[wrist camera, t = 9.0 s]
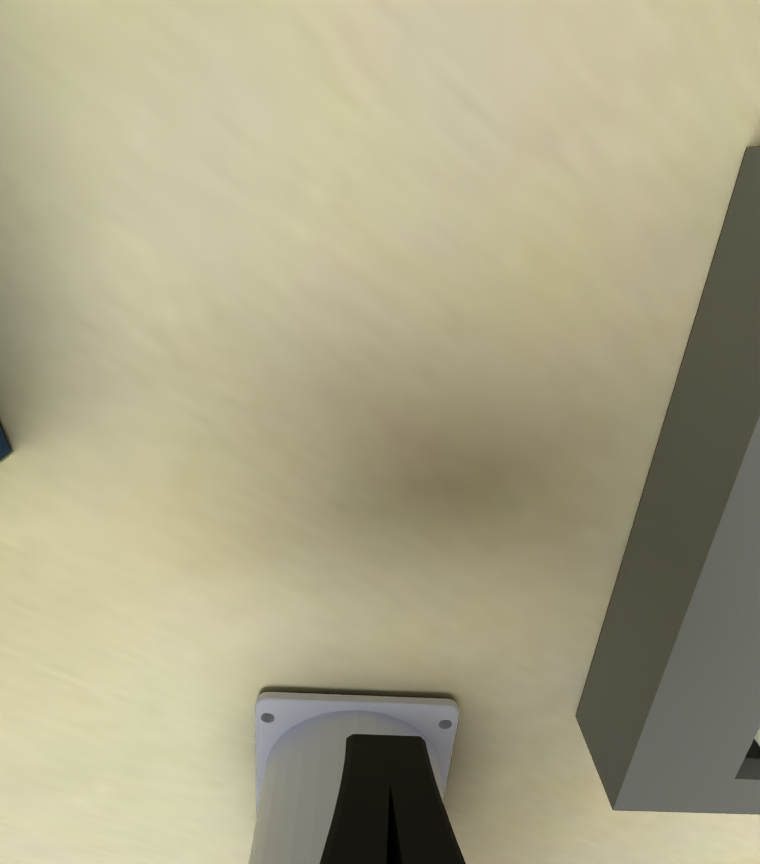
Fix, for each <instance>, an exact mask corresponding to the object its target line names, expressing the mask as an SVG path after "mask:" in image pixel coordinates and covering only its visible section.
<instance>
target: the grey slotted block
mask: <svg viewBox="0 0 760 864" xmlns="http://www.w3.org/2000/svg"><path fill="white" fill-rule="evenodd" d="M576 718H577V721H578V723H579V726H580V729H581V731H582V734H583V736H584V739H585V741H586V744H587V746H588V749H589V751H590V754H591V756H592V759H593V761H594V764H595V766H596V769H597V771H598V774H599V776H600V779H601V782H602V784H603V787H604V789H605V792H606V794H607V797H608V799H609V802H610V804H611V807H612V809H613V810H622V811H657V812H691V813H726V814H760V746H759V745H758V743H757V742H756V740H755V739H754V738H755V736H756V734H757V732H758V730H759V728H760V146H757V147H748V148H747V149H746V152H745V155H744V159H743V162H742V165H741V169H740V172H739V175H738V179H737V182H736V185H735V189H734V192H733V195H732V199H731V202H730V205H729V209H728V212H727V215H726V218H725V222H724V225H723V228H722V232H721V235H720V238H719V242H718V245H717V248H716V252H715V255H714V258H713V262H712V265H711V268H710V272H709V275H708V278H707V282H706V285H705V288H704V292H703V295H702V298H701V302H700V305H699V308H698V312H697V315H696V318H695V322H694V325H693V328H692V332H691V335H690V338H689V342H688V345H687V348H686V352H685V355H684V358H683V362H682V365H681V368H680V371H679V375H678V378H677V381H676V385H675V388H674V391H673V395H672V398H671V401H670V405H669V408H668V411H667V415H666V418H665V421H664V425H663V428H662V431H661V435H660V438H659V441H658V445H657V448H656V451H655V455H654V458H653V461H652V465H651V468H650V471H649V475H648V478H647V481H646V485H645V488H644V491H643V495H642V498H641V501H640V505H639V508H638V511H637V515H636V518H635V521H634V524H633V528H632V531H631V534H630V538H629V541H628V544H627V548H626V551H625V554H624V558H623V561H622V564H621V568H620V571H619V574H618V578H617V581H616V584H615V588H614V591H613V594H612V598H611V601H610V604H609V608H608V611H607V614H606V618H605V621H604V624H603V628H602V631H601V634H600V638H599V641H598V644H597V648H596V651H595V654H594V658H593V661H592V664H591V668H590V671H589V674H588V677H587V681H586V684H585V687H584V691H583V694H582V697H581V701H580V704H579V707H578V711H577V714H576Z"/></svg>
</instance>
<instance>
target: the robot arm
mask: <svg viewBox="0 0 760 864" xmlns="http://www.w3.org/2000/svg"><path fill="white" fill-rule="evenodd" d="M266 713H270V714H266ZM458 719H459V709H458V705H457V703H456V702H455V701H453V700H451V699H443V698H417V697H391V696H365V695H339V694H313V693H287V692H264V693H262V694H260V695H259V696H258V697H257V700H256V704H255V750H256V825H255V831H254V837H253V842H252V848H251V854H250V860H249V864H466V863H465V861H464V858H463V856H462V853H461V851H460V848H459V846H458V843H457V840H456V838H455V835H454V832H453V830H452V827H451V824H450V822H449V819H448V816H447V813H446V810H445V807H444V794H445V789H446V783H447V778H448V772H449V767H450V762H451V756H452V751H453V746H454V740H455V735H456V729H457V724H458ZM443 720H444V721H443Z"/></svg>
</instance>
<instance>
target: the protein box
mask: <svg viewBox="0 0 760 864" xmlns="http://www.w3.org/2000/svg"><path fill="white" fill-rule="evenodd" d="M10 454H11V450H10V448H9V445H8V443H7V441H6V438H5V436H4V434H3V431H2V429H1V427H0V463H1V462H2V461H3V460H5V459H6V458H7V457H9V456H10Z"/></svg>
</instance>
